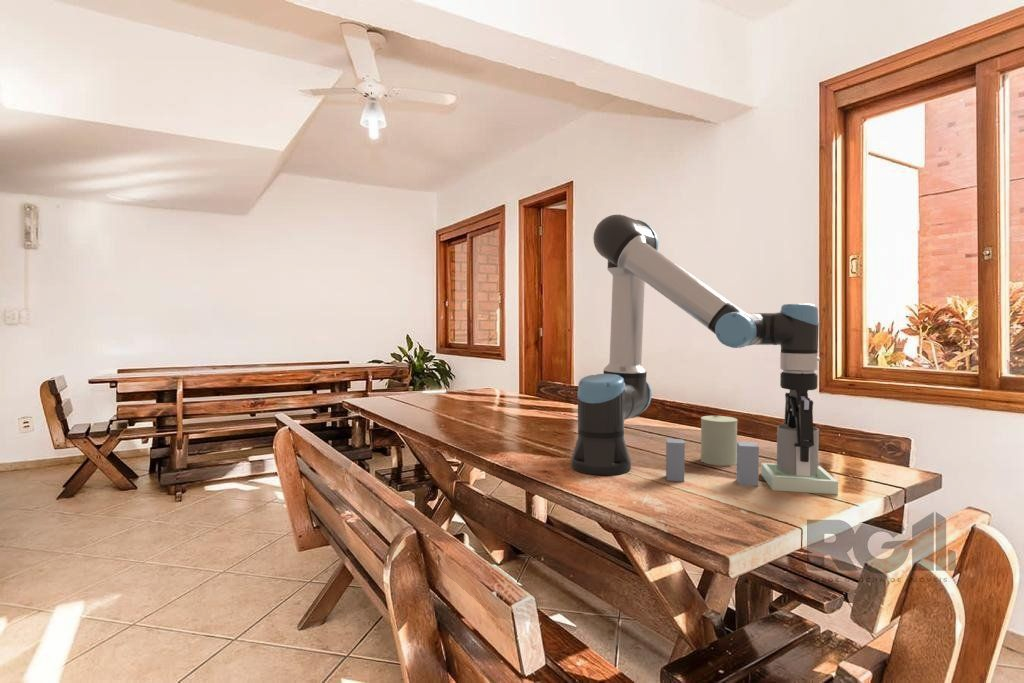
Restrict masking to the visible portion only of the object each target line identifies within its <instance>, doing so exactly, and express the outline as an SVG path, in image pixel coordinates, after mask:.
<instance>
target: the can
mask: <svg viewBox="0 0 1024 683" xmlns="http://www.w3.org/2000/svg"><path fill="white" fill-rule="evenodd" d="M700 422H701V424H700V426H701V429H700V432H701V434H700V442H701V443H700V461H701V462H702V463H703V462H704V464H706V465H711V466H716V465H717V467H731V466H735V465H736V466H737V442H738V419H737V418H736V417H732V416H727V415H726V416H724V415H704V416H701V417H700Z"/></svg>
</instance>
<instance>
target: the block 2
mask: <svg viewBox="0 0 1024 683" xmlns="http://www.w3.org/2000/svg"><path fill="white" fill-rule="evenodd" d="M759 449H760V447H759V445H758V444H757V443H756V442H747V441H746V442H744V441H743V442H742V441H741V442H740V441H737V464H736V481H737V483H738V486H750V487H751V486H752V487H759V462H760V461H759V457H760V456H759V455H760V454H759V453H760V452H759V451H760V450H759Z"/></svg>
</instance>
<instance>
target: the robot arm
mask: <svg viewBox="0 0 1024 683" xmlns="http://www.w3.org/2000/svg"><path fill="white" fill-rule="evenodd" d="M658 239H659V238H658V236H657V233H656V232H655V230H654V229H653V227H651V226H650V225H649V224H648V223H647V222H644V221H643V220H640V219H635V218H631V217H629V216H626V215H622V214H610V215H608V216H606V217H604V218H603V219H601V221H599V223H598V224H597V225H596V227H595V229H594V232H593V238H592V240H593V244H594V248H595V249H596V251H597V253H598V254H599V255H600V256H601V257H602V258H604V259H606V260H607V271H608V272H609V273H610V275H612V284H611V285H612V287H611V289H612V291H611V311H610V312H611V315H610V316H611V317H610V339H609V340H610V342H609V343H610V344H609V362H608V364H607V365H606V366H605V367H604V368H603V373H596V374H590V375H586V376H584V377H582V378H581V379H580V380H579V382H578V386H577V387H578V388H577V395H576V396H577V438H576V442H575V445H574V447H573V451H572V455H571V456H570V457H571V458H570V460H571V461H570V467H571V469H573V470H574V471H576V472H579V473H583V474H588V475H597V476H613V475H614V476H615V475H621V474H626V473H628V472H629V471H631V469H632V459H631V456H630V453H629V449H628V447H627V444H626V441H625V440H626V439H625V421H626V420H629V419H634V418H636V417H638V416H640V415H641V414H642V413H643V412H645V411H646V410H647V409H648V407H649V406H650V404H651V401H652V395H653V394H652V388H651V385H650V384H649V383H648V380H647V369H645V367H644V366H643V365H642V356H643V355H642V354H643V332H644V331H643V329H644V308H645V307H644V305H645V303H644V302H645V284H648V286H650V287H651V288H653V289H654V290H655V291H656V292H658V293H659V294H661V295H662V296H664V297H665V298H666V299H668V300H669V301H670V302H672V303H673V304H674V305H676V306H677V307H678V308H680V309H681V310H683V311H684V312H685V313H687V314H688V315H690V316H691V317H692V318H693V319H694V320H696V321H698V322H699V323H700V324H701V325H703V326H704V327H706V328H707V329H708V330H709V331H710V332H712V333H713V335H715V336H716V338H717V340H718V341H719V342H720V343H721V344H722V345H724V346H726V347H729V348H733V349H738V348H739V349H741V348H744V347H748V346H759V345H760V346H764V345H765V346H766V345H767V346H770V345H772V346H780V357H779V359H780V362H779V363H780V366H779V367H780V370H782V371H781V372H780V374H779V376H780V380H779V381H780V382H779V383H780V384H779V385H780V388H782V389H784V390H789V391H788V392H785V394H784V395H785V397H784V398H785V406H784V407H785V408H784V423H783V424H788V427H790V428H792V429H793V428H796V431H797V441H798V443H795V444H794V446H795V447H796V475H797V476H810V448H811V446H814V435H813V427H814V414H813V413H814V410H813V408H814V401H813V400H812V399H811V398H810V397H809V394H808V392H809V391H814V390H817V389H818V381H819V380H818V378H819V377H818V376H819V375H818V374H817V372H816V371H817V370H818V362H821V357H819V356H818V352H819V325H820V323H819V310H818V306H817V305H816V304H814V303H786V304H782V305H781V306H780V307H781V309H780V310H779V312H769V313H768V312H745V311H744V310H742V309H741V308H739V307H738V306H737V305H735V304H734V303H732V302H730V301H729V300H728V299H726V298H725V297H724V296H722V295H721V294H719V293H718V292H716V291H715V290H714V289H712V288H711V287H710V286H708V285H707V284H705V283H704V282H703V281H701V280H700V279H698V278H697V277H695V276H694V275H693V274H692V273H690V272H688V271H687V270H686V269H684V268H683V267H681V266H680V265H678V264H677V263H675V262H674V261H673V260H671V259H670V258H669V257H667V256H665V255H664V254H663V253H661V252H660V251H658V250H659V240H658Z"/></svg>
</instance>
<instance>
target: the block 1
mask: <svg viewBox="0 0 1024 683" xmlns="http://www.w3.org/2000/svg"><path fill="white" fill-rule="evenodd" d="M665 441H666V442H665V453H666V454H665V477H666V481H671V482H685V465H686V464H685V460H686V459H685V453H686V452H685V447H686V443H685V440H684V439H678V438H677V439H676V438H666V440H665Z"/></svg>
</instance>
